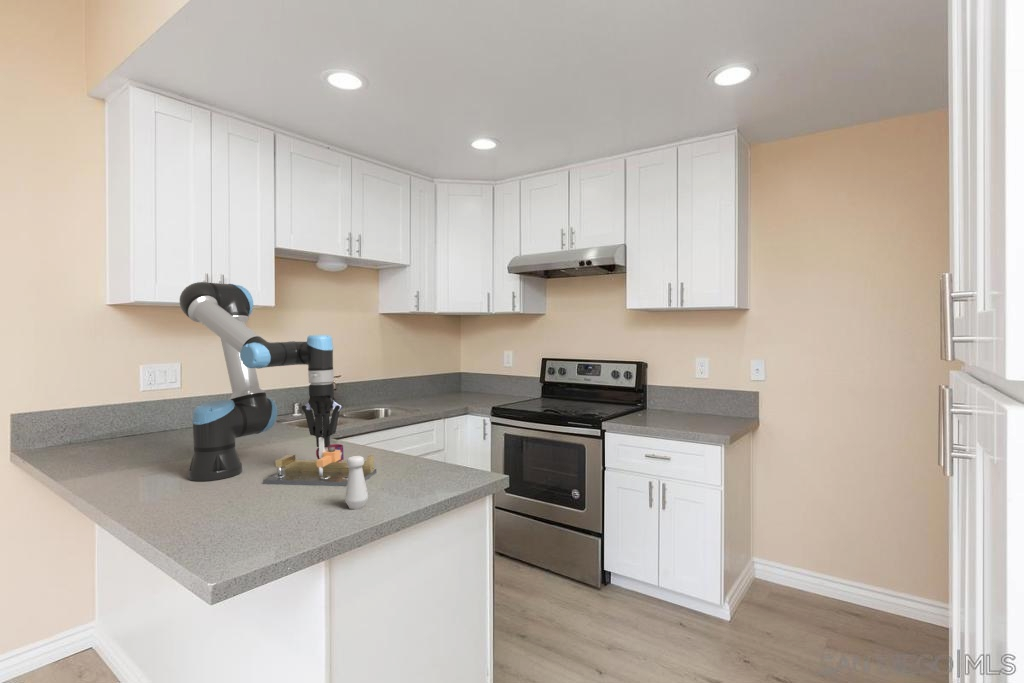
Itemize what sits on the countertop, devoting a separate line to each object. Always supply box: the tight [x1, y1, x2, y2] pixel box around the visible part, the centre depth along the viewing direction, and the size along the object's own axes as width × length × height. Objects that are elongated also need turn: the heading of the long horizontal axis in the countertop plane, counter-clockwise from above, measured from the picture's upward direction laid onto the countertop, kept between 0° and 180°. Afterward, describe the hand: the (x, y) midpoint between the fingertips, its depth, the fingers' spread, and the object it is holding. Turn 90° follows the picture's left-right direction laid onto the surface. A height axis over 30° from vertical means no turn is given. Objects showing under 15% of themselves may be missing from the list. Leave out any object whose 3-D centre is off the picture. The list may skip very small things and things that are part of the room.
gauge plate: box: [262, 468, 377, 487], centre depth 159 cm, size 30×14×1 cm, turn 82°
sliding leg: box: [316, 447, 341, 476], centre depth 160 cm, size 4×10×7 cm, turn 172°
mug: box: [315, 443, 345, 461], centre depth 174 cm, size 7×10×7 cm
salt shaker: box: [344, 455, 369, 510], centre depth 133 cm, size 6×6×13 cm
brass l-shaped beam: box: [275, 454, 375, 476], centre depth 160 cm, size 29×9×5 cm, turn 82°
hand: (323, 457), depth 163 cm, fingers closed
